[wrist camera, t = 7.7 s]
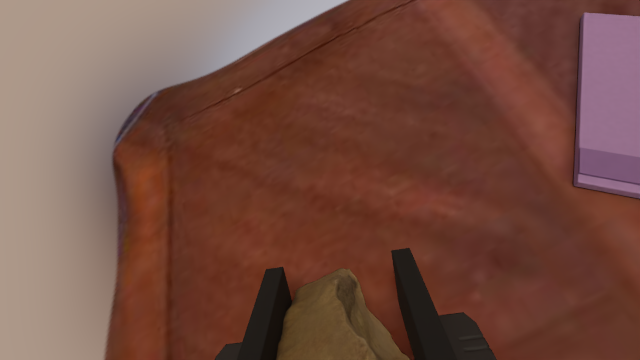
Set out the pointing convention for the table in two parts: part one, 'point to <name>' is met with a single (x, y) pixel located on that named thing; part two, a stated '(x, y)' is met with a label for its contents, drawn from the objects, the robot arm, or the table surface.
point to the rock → (334, 324)
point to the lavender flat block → (608, 105)
